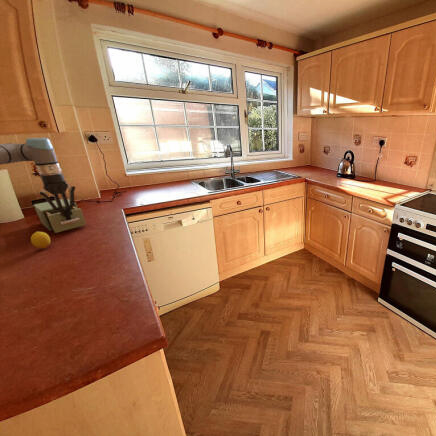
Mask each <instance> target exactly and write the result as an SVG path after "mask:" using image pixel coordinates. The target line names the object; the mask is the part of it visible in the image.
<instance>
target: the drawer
mask: <svg viewBox="0 0 436 436" xmlns="http://www.w3.org/2000/svg"><path fill="white" fill-rule="evenodd" d="M63 209H66V207H65V208H63ZM71 211H72V213H73V214H72V215H70V216H71V219H72V220H68V221H67V220H66V217H63V216H62V215H61V213H60V211H59V210H51V211H46V212H44V214H45V216H46V218H47V221H48V223H49V225H50V226H51V227H52V228H53V230H52V231H53V233H54V234H58V233H61V232H64V231H68V230H72V229H76V228H79V227H83V226H86V225H87V222H86V218H85V217H84V213H83V211H82V209H81V208H76V207H72V208H71Z"/></svg>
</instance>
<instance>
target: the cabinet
mask: <svg viewBox="0 0 436 436" xmlns="http://www.w3.org/2000/svg"><path fill="white" fill-rule="evenodd" d="M59 199H60V198H59ZM67 200H68V202H69V205H70V198H67ZM51 201H52V202H53V203H54V204H55V206H56V207H58V206H57V203H56V201H55V200H51ZM60 201H61V204H62V207H63V208H65V204H64V201H63V199H62V198H61V199H60ZM33 207H34V210H35V212H36V214H37V216H38V219H39V220H40V223H41V225H43V226H44V227H45V229H47V230H48V231H54V230H53V228H52V227H51V226H50V225H49V223H48V221H47V218H46V216H45V214H44V212H46V211H51V210H54V209H53V208H52V207H51V205H50V204H49V203H48V202H47V201H45V202H40V203H35V204H33ZM74 207H76V208H78V204H77V203H76V202H75V206H74ZM78 209H79V208H78Z"/></svg>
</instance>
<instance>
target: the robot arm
mask: <svg viewBox="0 0 436 436" xmlns="http://www.w3.org/2000/svg"><path fill="white" fill-rule="evenodd" d="M56 155H57V154H56V152H55V147H53V145H52V142H51V141H50V139H49V138H47V137H31V138H30V137H29V138H26V139H25V143H12V142H11V143H9V142H8V143H0V166H1V165H7V164H15V163H21V162H34V165H35V168H36V169H37V173H38V174H39V175H40V180H41V182H42V185H43V187H42V189H41V190H39V191H38V192H37V193H38V194H39V195H40V196H42V197H43V198H44V199H45V201H46V202H48V203H49V204H50V205H51V207H52V208H53V209H54V210H59V211H60V213H61V215H62V216H63V217H66V220H67V221H68V220H72V219H71V216H70V215H72V214H73V213H72V211H71V208H72V207H74V206H75V203H76V202H75V190H76V186H74V185H70V184H68V182H67V181H66V179H65V177H64V174H63V173H62V172H63V171H62V168H61V165H60V164H59V161H58V159H57V156H56ZM67 190H68V191H69V193H68V194H69V195H68V196H69V200H70V205H69V202H68V200H67V199H68V198H67V196H66V195H67V194H66V192H67ZM48 193H50V194H51V195H52V196H53V198H54V201H56V203H57V206H58V207H56V206H55V204H54V203H53V202H52V201H53V200H52V199H51V198H50V197H49V196H48V195H47V194H48ZM60 196H61V199H63V201H64V204H65V207H66V209H63V207H62V204H61V201H60Z"/></svg>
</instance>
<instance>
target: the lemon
mask: <svg viewBox="0 0 436 436" xmlns="http://www.w3.org/2000/svg"><path fill="white" fill-rule="evenodd" d="M30 241H31V244H32V246H34V247H35V248H38V249H47V247H48V246H49V245H50V244H51V237H50V236H49V234H48V233H46V232H44V231H39V230H38V231H35V232H34V233H32V235H31V236H30Z"/></svg>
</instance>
